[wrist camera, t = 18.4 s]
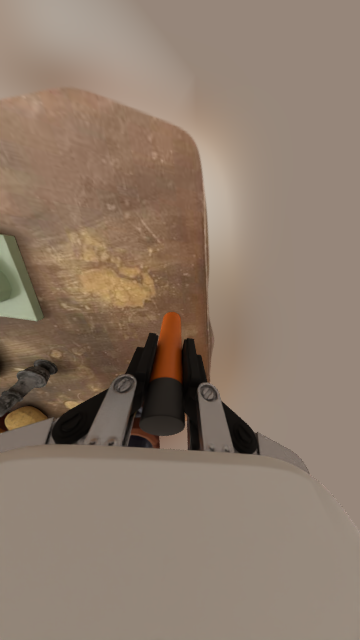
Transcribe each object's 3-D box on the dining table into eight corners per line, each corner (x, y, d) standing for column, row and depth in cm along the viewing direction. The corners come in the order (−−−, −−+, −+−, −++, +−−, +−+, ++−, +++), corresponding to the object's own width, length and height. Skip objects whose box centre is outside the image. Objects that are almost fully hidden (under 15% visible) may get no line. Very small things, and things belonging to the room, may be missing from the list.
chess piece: (62, 375, 33) (9, 432, 23) (39, 374, 33) (-25, 431, 23) (53, 359, 31) (-13, 415, 20) (27, 358, 30) (-52, 414, 20)
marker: (164, 310, 15) (139, 413, 6) (182, 313, 15) (189, 417, 6) (161, 325, 16) (138, 434, 7) (179, 328, 17) (180, 437, 7)
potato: (39, 419, 44) (19, 443, 39) (14, 401, 39) (-12, 426, 33) (57, 417, 44) (39, 441, 38) (34, 399, 39) (10, 424, 33)
